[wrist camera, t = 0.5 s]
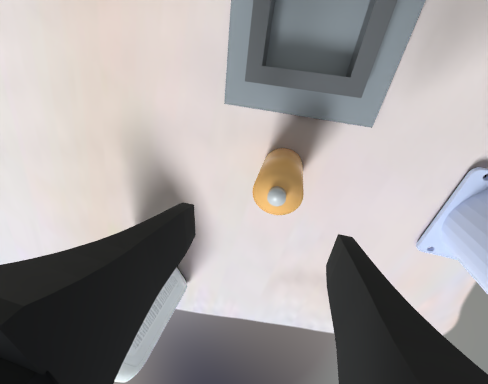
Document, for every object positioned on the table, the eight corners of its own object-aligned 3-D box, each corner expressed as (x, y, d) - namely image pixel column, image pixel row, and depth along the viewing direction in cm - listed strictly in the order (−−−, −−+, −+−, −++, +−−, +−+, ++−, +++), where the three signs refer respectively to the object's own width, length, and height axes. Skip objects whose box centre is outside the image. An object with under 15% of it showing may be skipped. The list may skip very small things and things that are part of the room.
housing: (467, -113, 10) (508, -159, 8) (369, 125, 15) (379, 132, 13) (241, -114, 11) (230, -152, 9) (226, 102, 17) (217, 106, 15)
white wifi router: (131, 234, 28) (26, 331, 17) (155, 229, 26) (56, 332, 15) (170, 287, 31) (104, 393, 21) (193, 285, 30) (134, 399, 19)
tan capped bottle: (307, 152, 17) (309, 181, 12) (297, 187, 19) (296, 224, 14) (266, 144, 18) (254, 169, 13) (260, 180, 19) (247, 213, 15)
